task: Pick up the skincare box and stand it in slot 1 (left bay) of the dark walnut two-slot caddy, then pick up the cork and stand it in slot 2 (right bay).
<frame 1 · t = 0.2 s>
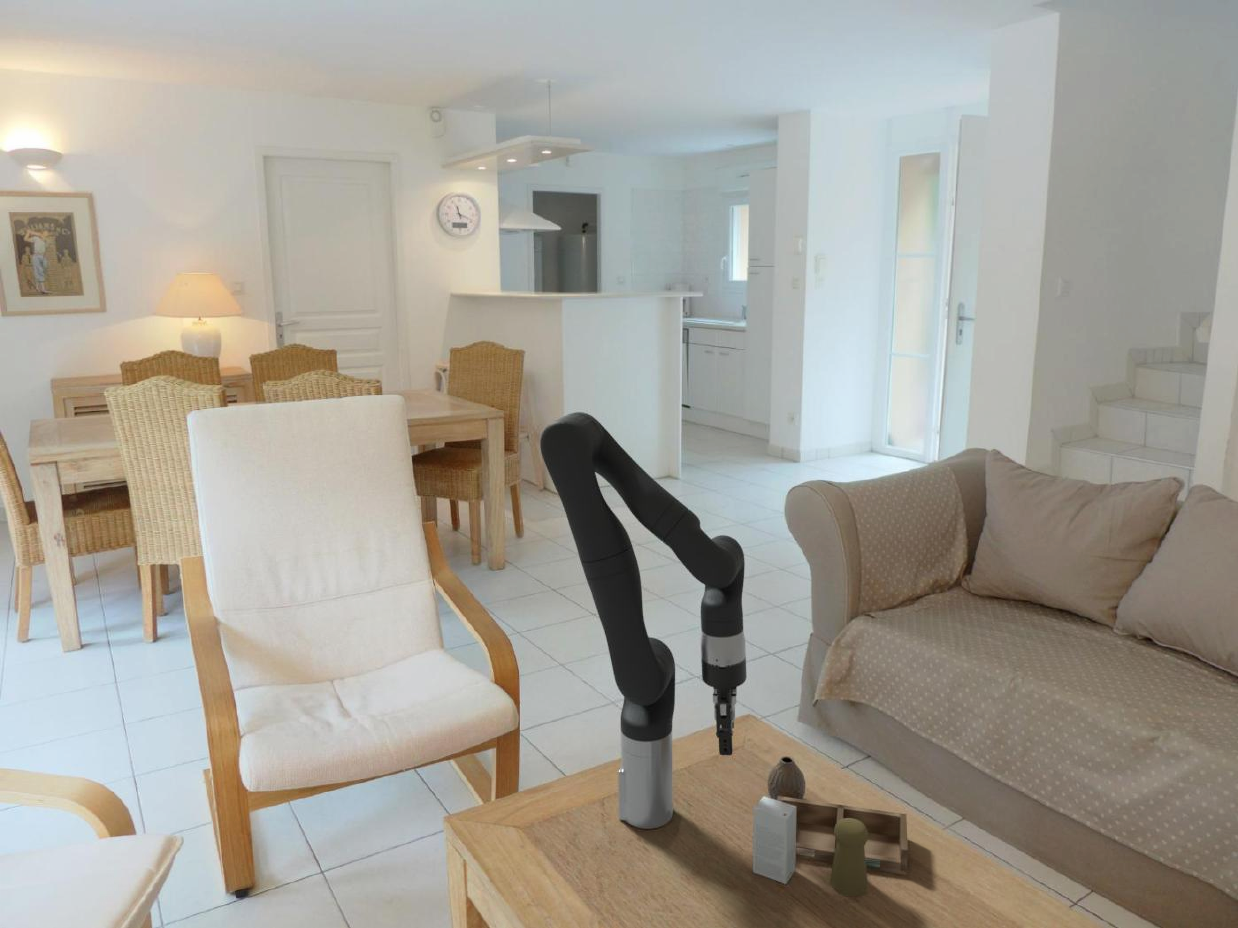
hand: (726, 740, 156), 17 cm above the table, tool pointing down, fingers open, 8 cm apart
slot rack: (838, 845, 155), on the table
cork: (848, 884, 146), on the table
skincare box: (773, 872, 149), on the table
vase: (785, 802, 168), on the table
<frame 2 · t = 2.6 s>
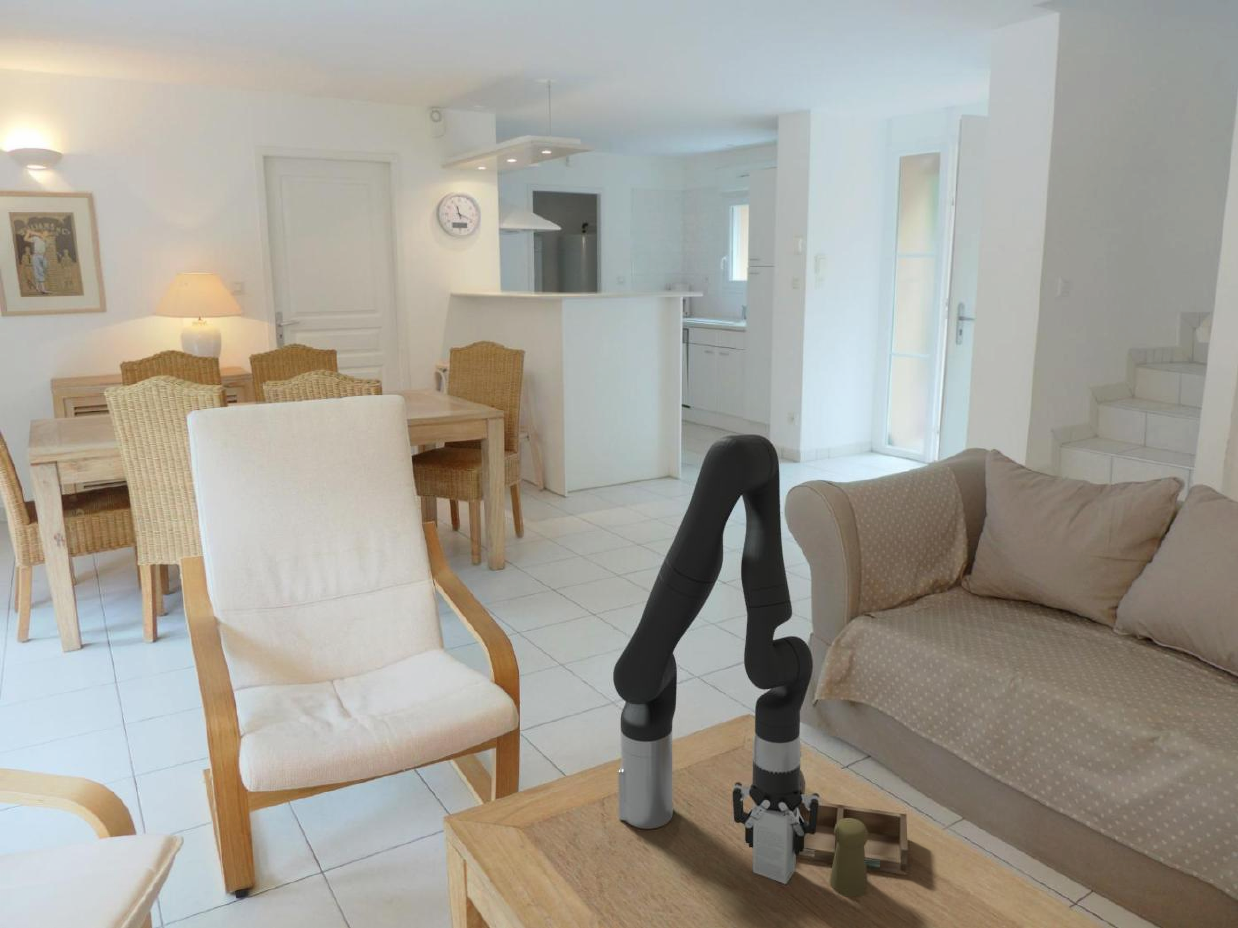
hand: (774, 847, 148), 4 cm above the table, tool pointing down, fingers closed on skincare box, 7 cm apart
skincare box: (773, 872, 149), on the table, touching gripper
everything else where it was.
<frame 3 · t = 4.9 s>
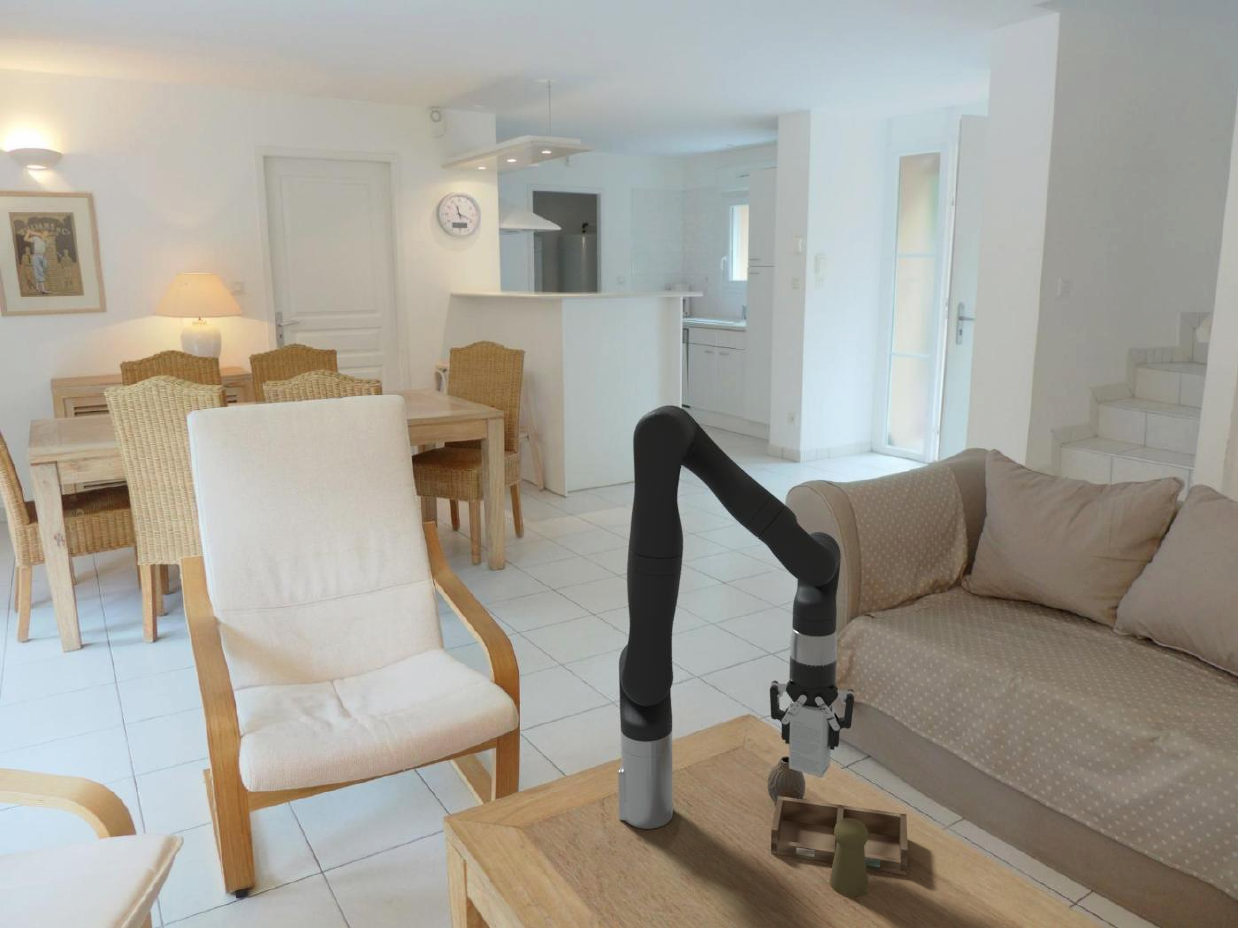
hand: (810, 744, 152), 19 cm above the table, tool pointing down, fingers closed on skincare box, 7 cm apart
skincare box: (809, 768, 153), point 14 cm above the table, touching gripper
everything else where it was.
when the fingers open (6 cm above the table, at t = 7.6 s): skincare box drops 2 cm, resting on slot rack.
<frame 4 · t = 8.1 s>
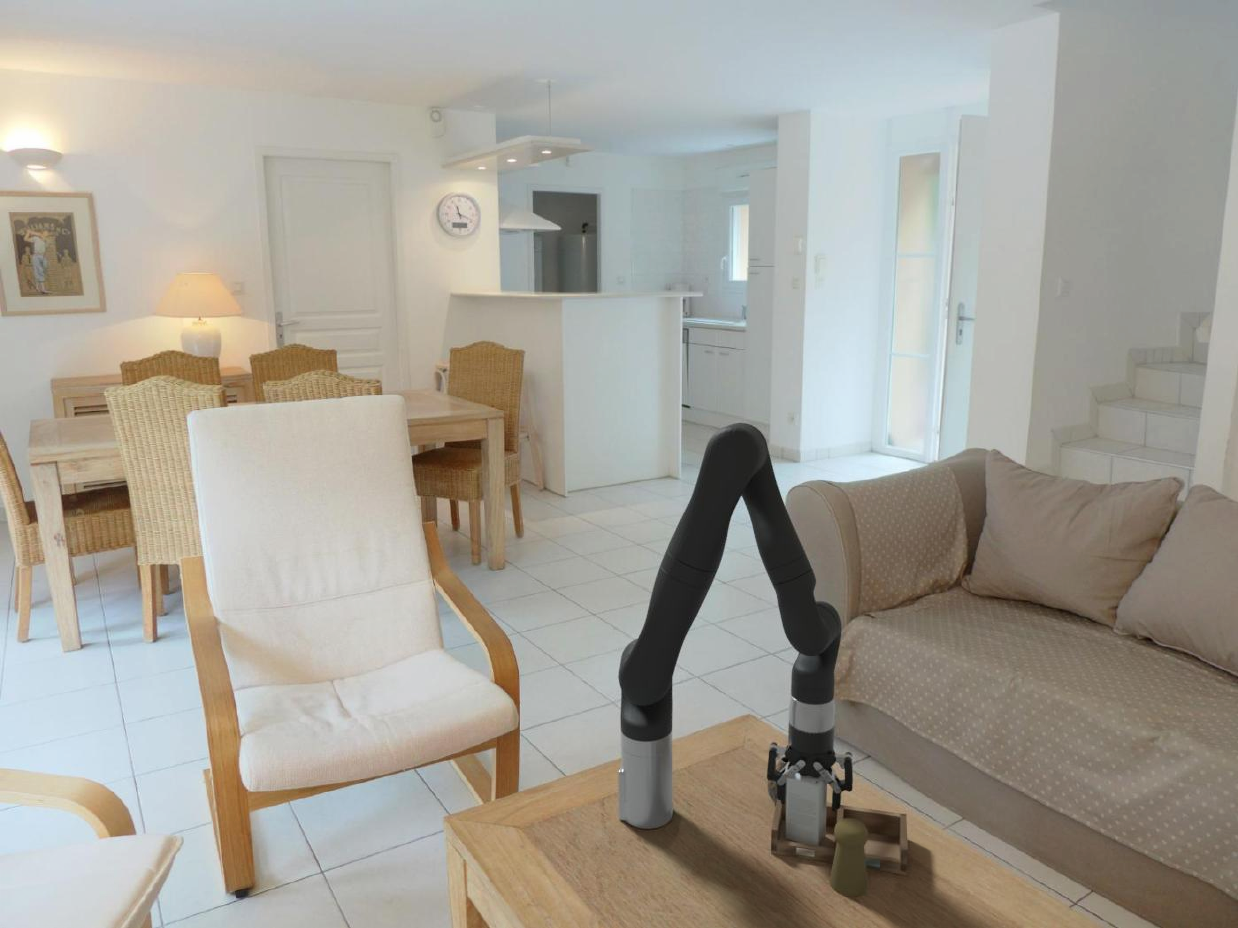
hand: (808, 805, 155), 7 cm above the table, tool pointing down, fingers open, 8 cm apart
skincare box: (805, 838, 157), resting on slot rack
everything else where it was.
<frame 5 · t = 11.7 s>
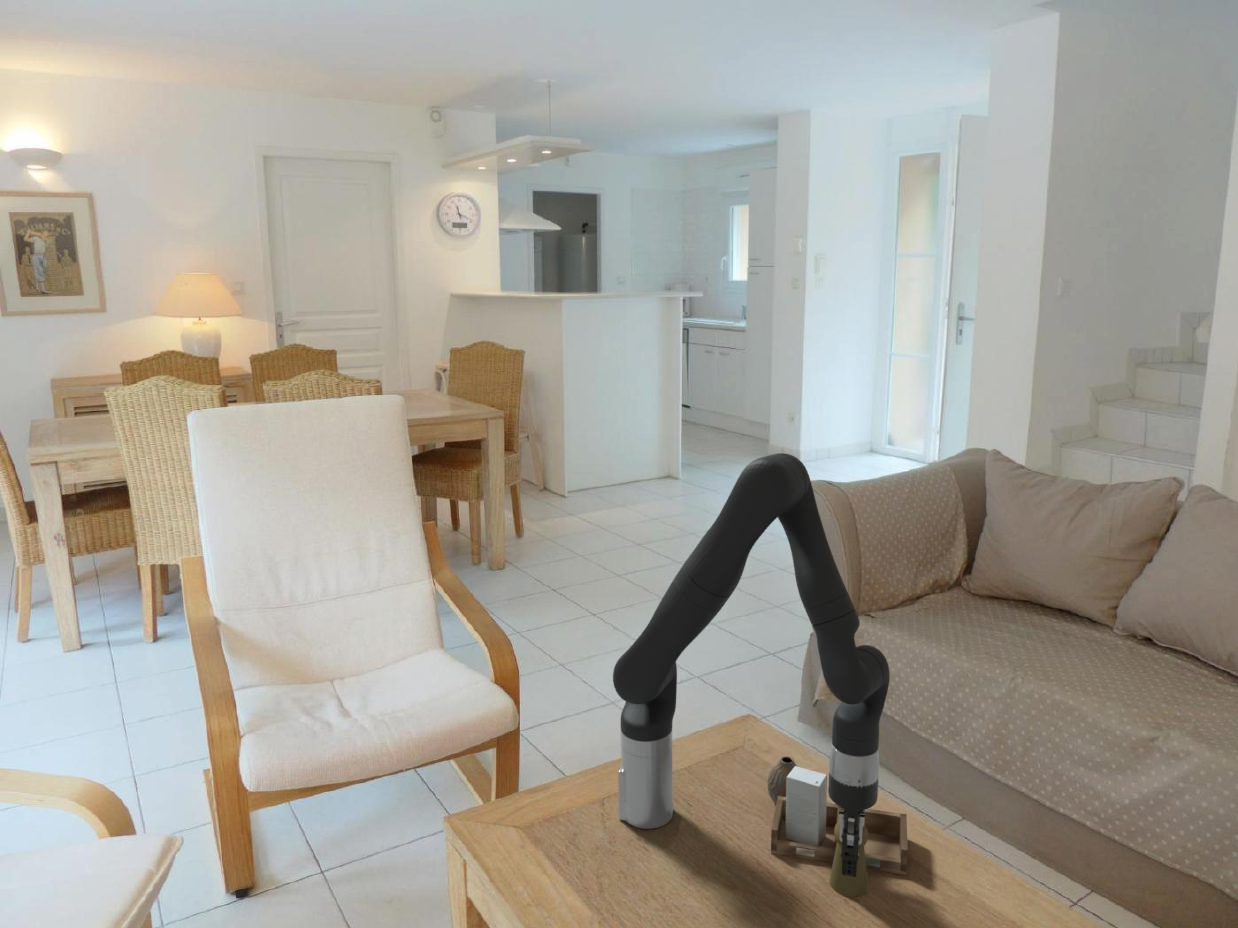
hand: (849, 865, 145), 3 cm above the table, tool pointing down, fingers closed on cork, 3 cm apart
cork: (848, 884, 146), on the table, touching gripper
everything else where it was.
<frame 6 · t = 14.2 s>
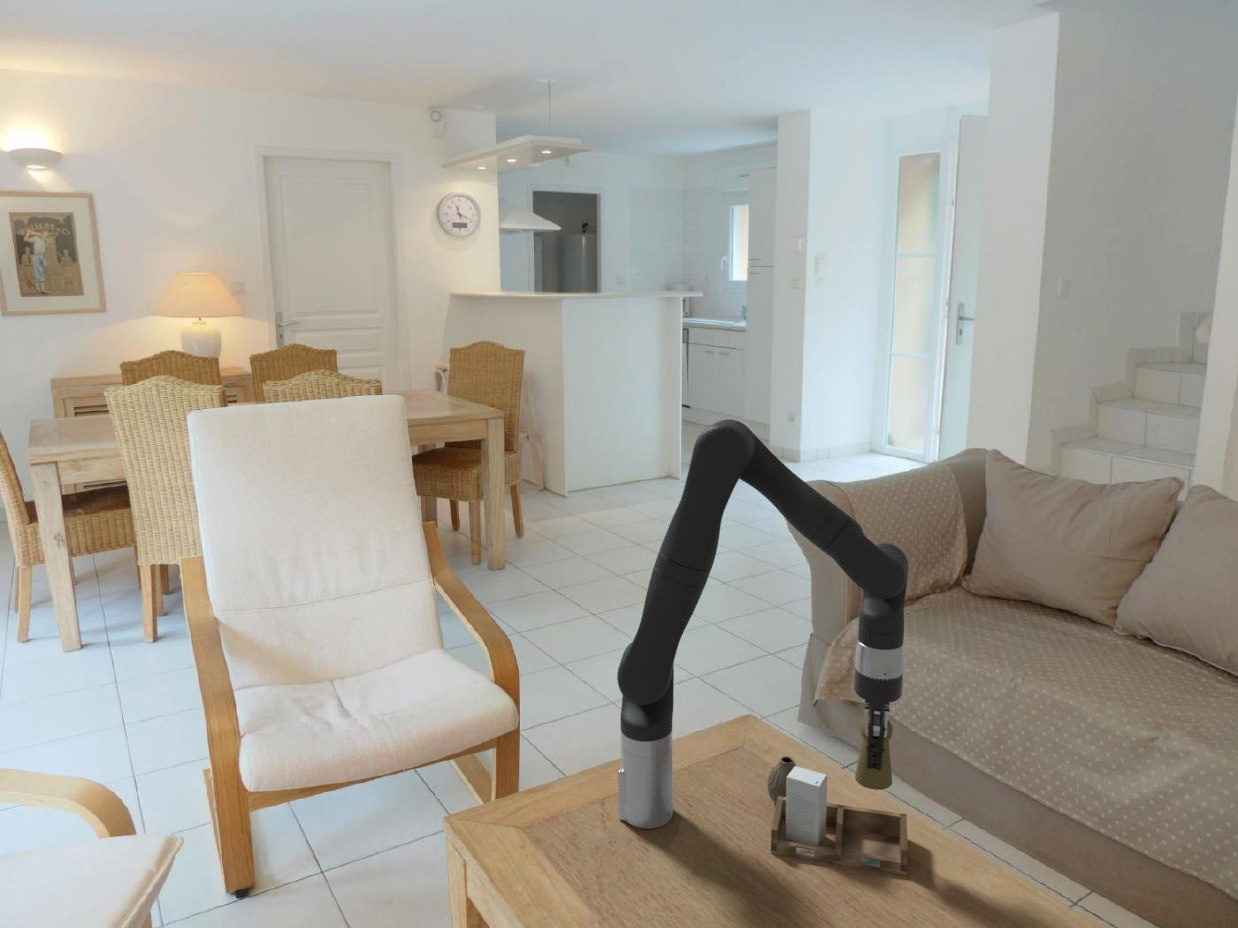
hand: (874, 761, 150), 17 cm above the table, tool pointing down, fingers closed on cork, 3 cm apart
cork: (873, 780, 151), point 13 cm above the table, touching gripper
everything else where it was.
when the fingers open (5 cm above the table, at t = 16.5 s): cork drops 2 cm, resting on slot rack.
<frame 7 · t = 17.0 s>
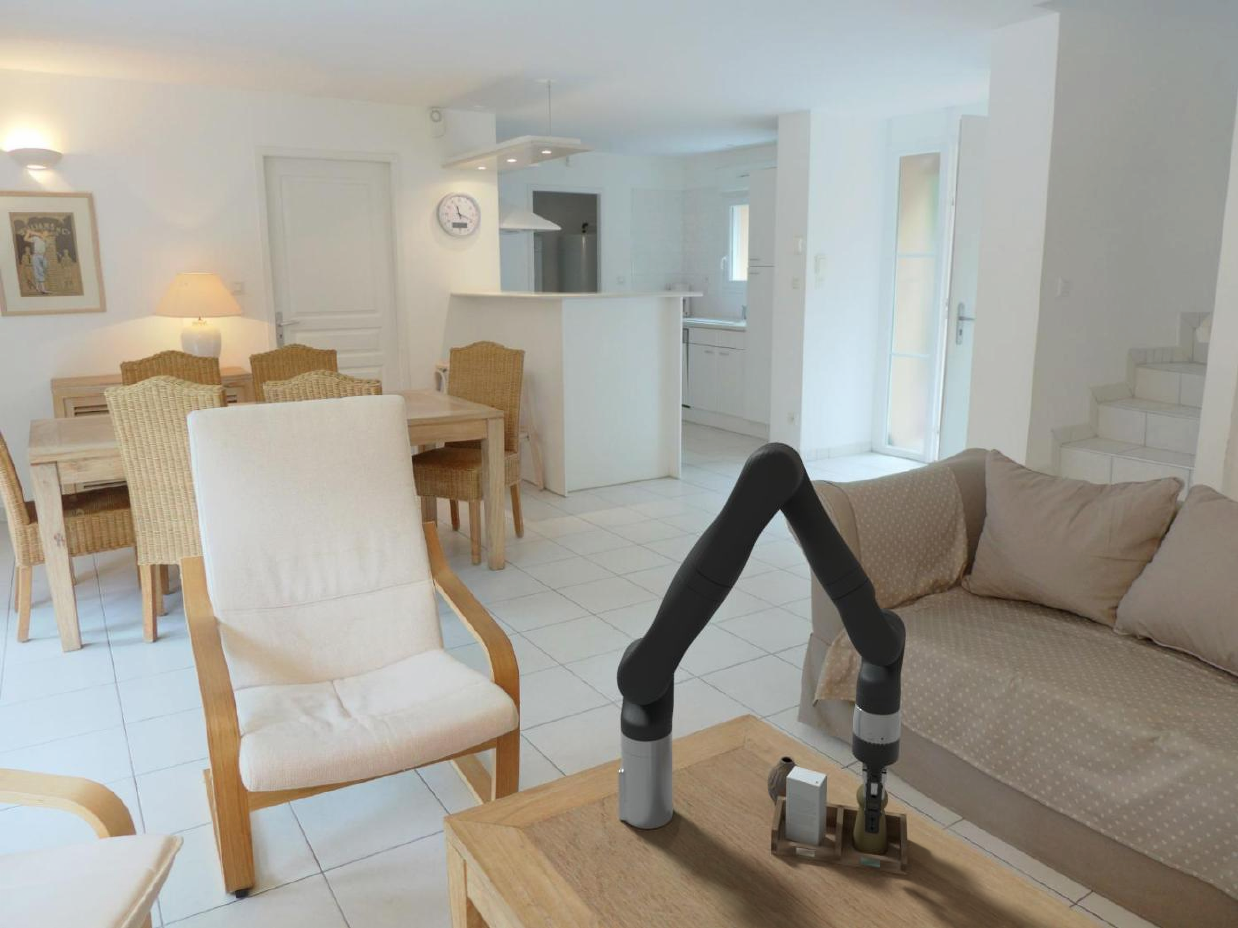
hand: (871, 816, 152), 6 cm above the table, tool pointing down, fingers open, 8 cm apart
cork: (869, 846, 154), resting on slot rack
everything else where it was.
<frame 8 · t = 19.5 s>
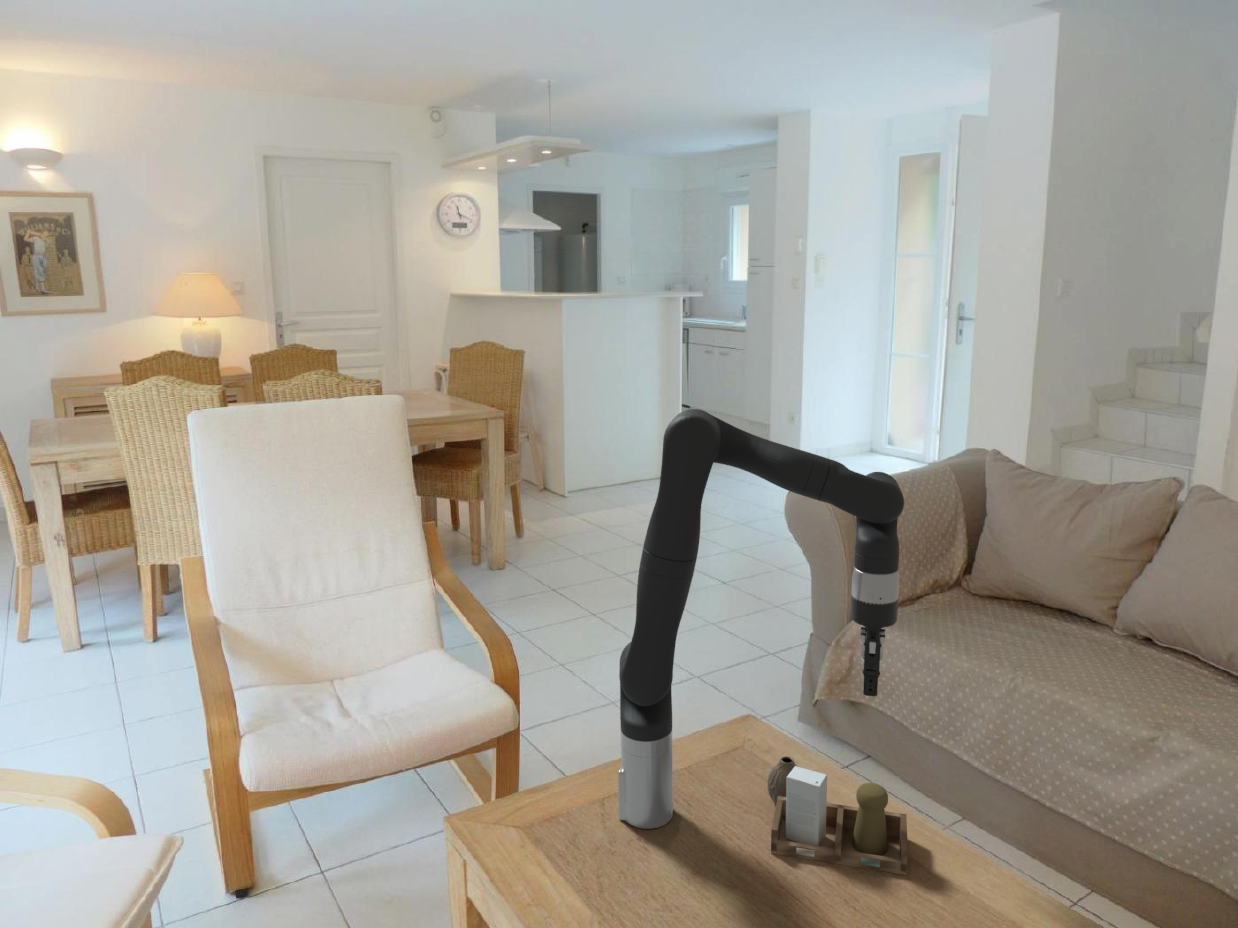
hand: (870, 683, 153), 28 cm above the table, tool pointing down, fingers open, 8 cm apart
nothing on the table moved.
at the end: skincare box inside the target area on the slot rack (0.4 cm from its centre), point 0.4 cm above the slot rack's base; cork inside the target area on the slot rack (0.5 cm from its centre), point 0.4 cm above the slot rack's base; cork tilted 0° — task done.
